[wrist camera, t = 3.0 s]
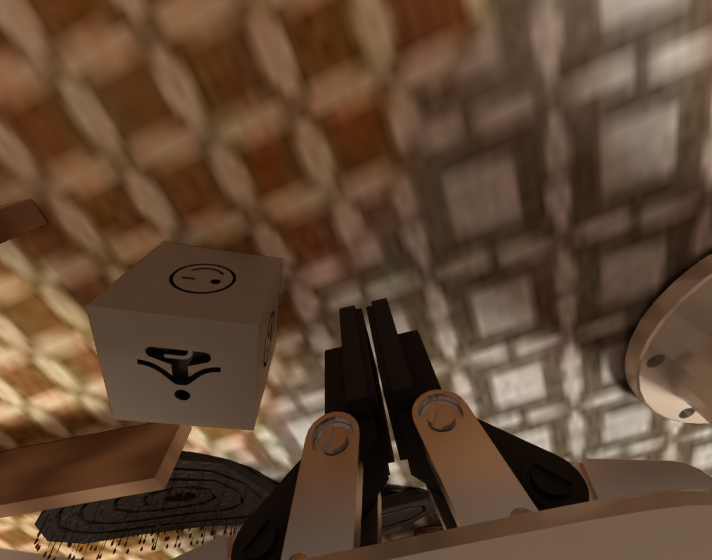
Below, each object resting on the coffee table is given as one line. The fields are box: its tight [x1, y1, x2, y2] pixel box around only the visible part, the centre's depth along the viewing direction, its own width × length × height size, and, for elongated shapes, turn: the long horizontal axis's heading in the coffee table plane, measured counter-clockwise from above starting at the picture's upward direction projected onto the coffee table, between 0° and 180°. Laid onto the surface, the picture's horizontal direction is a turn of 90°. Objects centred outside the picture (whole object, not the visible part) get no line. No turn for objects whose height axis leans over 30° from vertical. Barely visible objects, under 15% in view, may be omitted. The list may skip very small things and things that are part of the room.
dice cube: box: [86, 242, 283, 430], centre depth 13 cm, size 5×5×5 cm
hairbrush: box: [34, 451, 435, 560], centre depth 22 cm, size 8×4×25 cm
